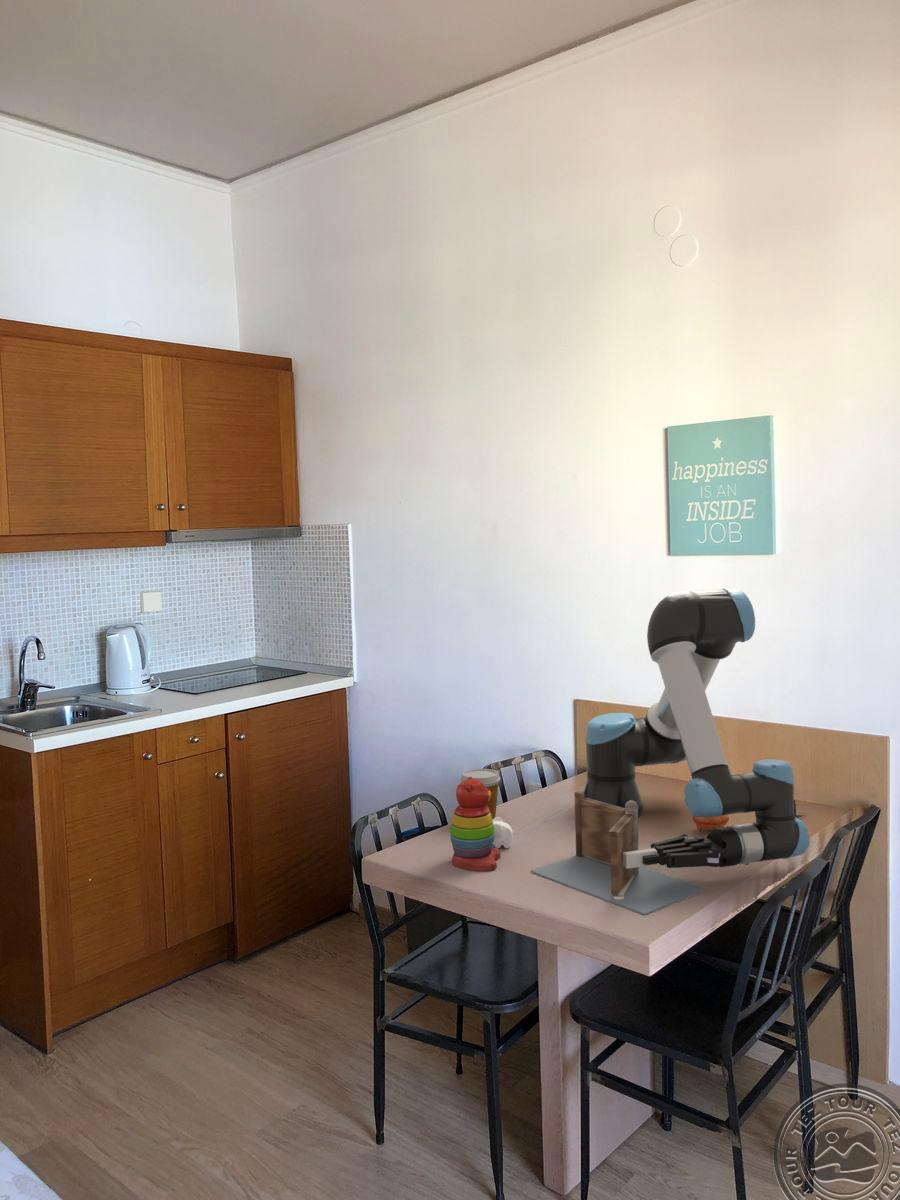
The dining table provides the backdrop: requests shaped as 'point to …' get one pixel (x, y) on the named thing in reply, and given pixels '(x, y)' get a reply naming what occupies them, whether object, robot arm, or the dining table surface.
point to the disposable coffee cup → (486, 784)
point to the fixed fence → (600, 827)
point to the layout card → (637, 893)
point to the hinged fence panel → (620, 852)
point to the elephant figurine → (502, 833)
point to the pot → (710, 822)
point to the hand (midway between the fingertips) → (624, 860)
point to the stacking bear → (473, 828)
